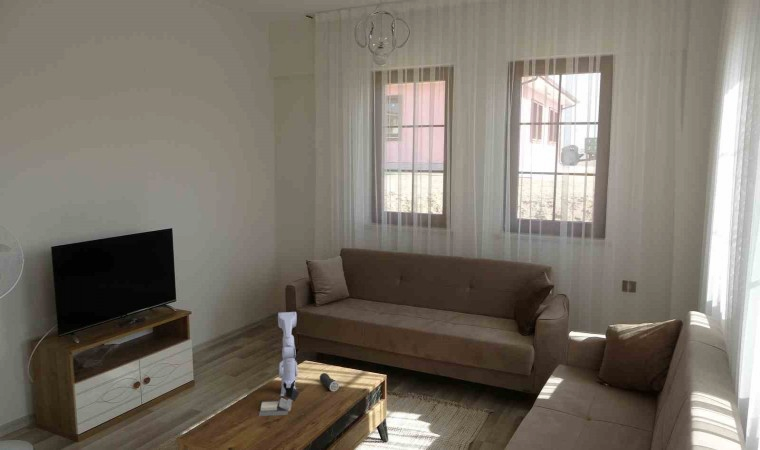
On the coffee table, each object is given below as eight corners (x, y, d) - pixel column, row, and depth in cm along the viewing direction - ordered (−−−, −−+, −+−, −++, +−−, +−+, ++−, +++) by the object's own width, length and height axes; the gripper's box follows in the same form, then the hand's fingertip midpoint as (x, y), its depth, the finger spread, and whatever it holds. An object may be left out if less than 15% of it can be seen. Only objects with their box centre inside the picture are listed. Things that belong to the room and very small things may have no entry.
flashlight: (318, 382, 320) (318, 373, 319) (327, 380, 322) (327, 371, 322) (330, 392, 307) (329, 382, 306) (339, 390, 309) (338, 380, 308)
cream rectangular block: (278, 405, 289) (262, 405, 288) (277, 401, 289) (262, 402, 288) (277, 410, 283) (260, 411, 282) (277, 407, 283) (260, 407, 282)
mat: (262, 402, 293) (262, 401, 293) (289, 401, 295) (289, 400, 294) (258, 416, 277) (258, 415, 277) (287, 415, 279) (287, 414, 279)
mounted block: (290, 404, 291) (280, 399, 290) (299, 388, 290) (289, 383, 289) (289, 411, 283) (278, 406, 282) (299, 395, 282) (288, 390, 281)
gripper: (296, 375, 277) (296, 401, 279) (297, 364, 292) (297, 389, 293) (282, 375, 276) (282, 402, 278) (283, 364, 291) (284, 389, 293)
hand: (289, 395), depth 286 cm, fingers closed on mounted block, 2 cm apart
